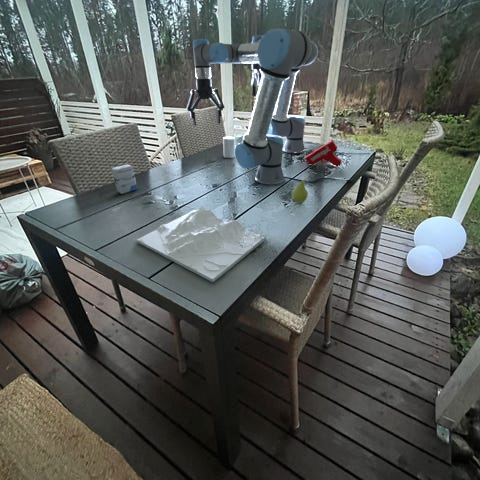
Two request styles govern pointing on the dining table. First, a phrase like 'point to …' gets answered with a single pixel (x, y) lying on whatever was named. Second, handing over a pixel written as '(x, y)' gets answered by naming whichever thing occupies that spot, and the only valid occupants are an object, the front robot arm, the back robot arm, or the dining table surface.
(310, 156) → the toy gun
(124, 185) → the ink box
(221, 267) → the relief map
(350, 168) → the dining table surface
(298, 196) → the fruit
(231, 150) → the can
